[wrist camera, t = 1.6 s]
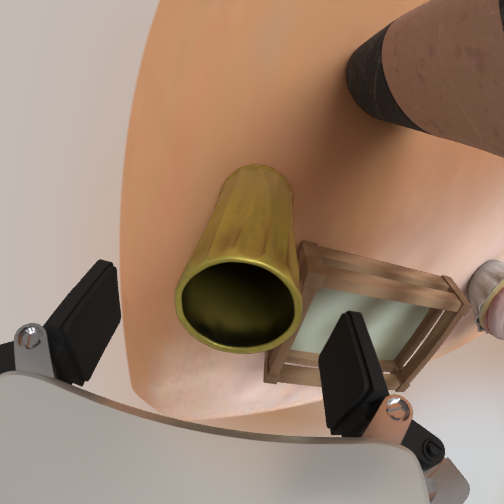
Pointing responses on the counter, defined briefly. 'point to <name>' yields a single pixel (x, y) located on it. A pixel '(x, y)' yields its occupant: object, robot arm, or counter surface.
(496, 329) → the cupcake
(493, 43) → the travel mug
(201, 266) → the vase
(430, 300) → the tray
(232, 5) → the counter surface
